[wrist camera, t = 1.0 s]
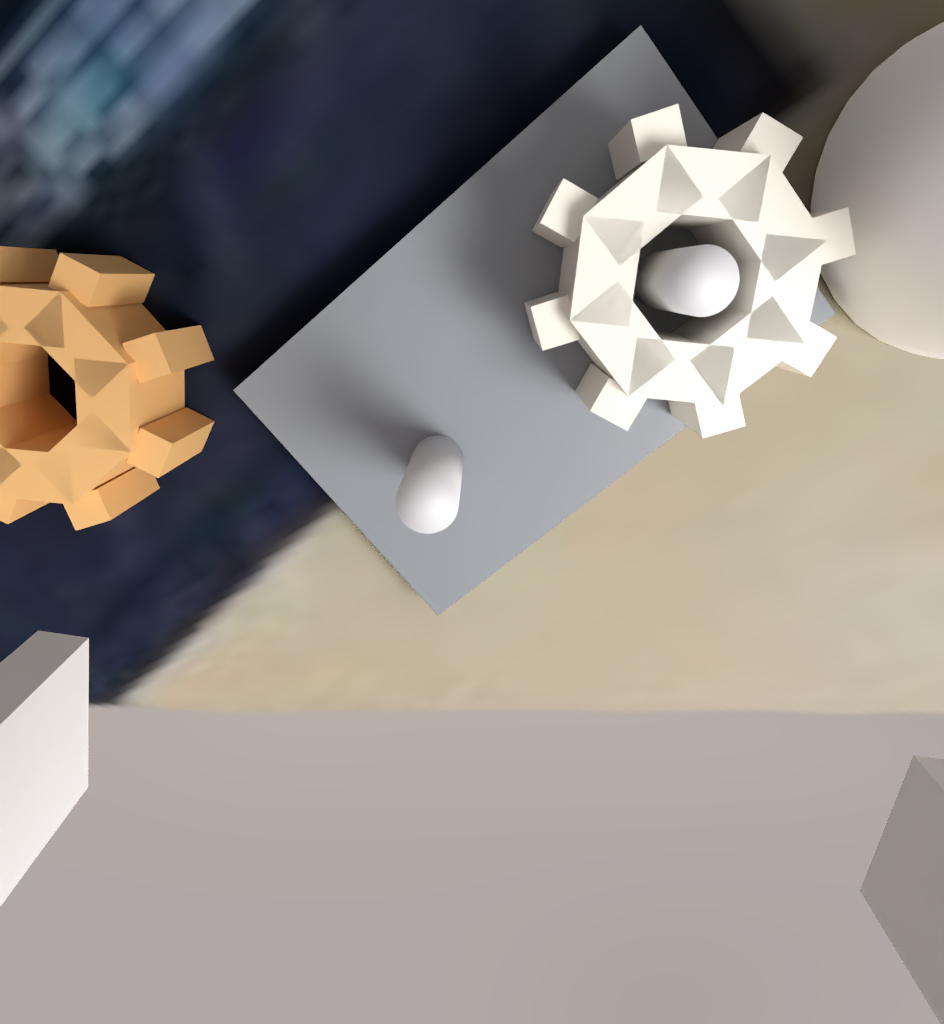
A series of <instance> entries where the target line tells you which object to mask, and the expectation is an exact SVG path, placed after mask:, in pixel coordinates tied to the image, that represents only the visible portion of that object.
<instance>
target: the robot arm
mask: <svg viewBox="0 0 944 1024" xmlns="http://www.w3.org/2000/svg"><path fill="white" fill-rule="evenodd" d="M88 708H89V638H86V637H79V636H72V635H65V634H58V633H51V632H44V631H37V632H36V633H35V634H34V635H33V636H31V637H30V638H29V639H28V640H27V641H26V642H24V643H23V644H22V645H21V646H20V647H19V648H17V649H16V650H15V651H14V652H13V653H12V654H10V655H9V656H8V657H7V658H6V659H4V660H3V661H2V662H1V663H0V906H1V905H2V904H3V902H4V901H5V899H6V898H7V897H8V895H9V894H10V893H11V891H12V890H13V888H14V887H15V886H16V884H17V883H18V882H19V880H20V879H21V878H22V876H23V875H24V874H25V872H26V871H27V869H28V868H29V867H30V865H31V864H32V863H33V861H34V860H35V859H36V857H37V856H38V854H39V853H40V852H41V850H42V849H43V848H44V846H45V845H46V844H47V842H48V841H49V840H50V838H51V837H52V835H53V834H54V833H55V831H56V830H57V829H58V827H59V826H60V825H61V823H62V822H63V820H64V819H65V817H66V816H67V815H68V813H69V812H70V811H71V809H72V808H73V807H74V806H75V804H76V803H77V801H78V800H79V799H80V797H81V796H82V795H83V793H84V792H85V791H86V789H87V788H88ZM860 891H861V893H862V895H863V896H864V898H865V899H866V901H867V903H868V904H869V906H870V907H871V909H872V911H873V913H874V914H875V916H876V918H877V919H878V921H879V923H880V924H881V926H882V928H883V929H884V930H885V933H886V934H887V936H888V937H889V939H890V941H891V942H892V944H893V946H894V947H895V949H896V951H897V952H898V954H899V956H900V957H901V959H902V960H903V962H904V964H905V966H906V967H907V969H908V970H909V972H910V974H911V975H912V977H913V979H914V980H915V982H916V984H917V985H918V987H919V989H920V990H921V992H922V994H923V995H924V997H925V999H926V1000H927V1002H928V1004H929V1005H930V1007H931V1008H932V1010H933V1012H934V1014H935V1015H936V1017H937V1018H938V1020H939V1022H940V1023H941V1024H944V760H942V759H935V758H929V757H921V756H913V758H912V760H911V763H910V765H909V768H908V771H907V773H906V776H905V778H904V781H903V784H902V786H901V788H900V791H899V793H898V796H897V798H896V801H895V804H894V806H893V809H892V811H891V814H890V816H889V819H888V821H887V824H886V826H885V829H884V831H883V834H882V837H881V839H880V842H879V844H878V847H877V849H876V852H875V854H874V857H873V859H872V862H871V865H870V867H869V869H868V872H867V875H866V877H865V880H864V882H863V885H862V887H861V890H860Z"/></svg>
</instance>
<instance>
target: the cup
mask: <svg viewBox="0 0 944 1024" xmlns="http://www.w3.org/2000/svg"><path fill="white" fill-rule="evenodd" d="M845 207H849V213H850V220H851V226H852V232H853V239H854V245H855V251H856V254H855V255H852V256H849V257H846V258H842V259H839V260H836V261H833V262H830V263H826V264H823V265H822V266H821V271H820V273H821V275H822V277H823V279H824V281H825V282H826V284H827V286H828V288H829V290H830V292H831V294H832V296H833V298H834V300H835V301H836V302H837V304H838V305H839V306H840V307H841V308H842V309H843V310H844V312H845V313H846V314H847V315H848V316H849V317H850V318H851V320H852V321H853V322H854V323H855V324H856V325H858V326H859V327H861V328H862V329H863V330H865V331H866V332H868V333H869V334H871V335H872V336H873V337H875V338H876V339H878V340H879V341H881V342H884V343H886V344H889V345H891V346H894V347H896V348H899V349H901V350H904V351H907V352H910V353H913V354H917V355H922V356H928V357H933V358H939V359H944V22H942V23H940V24H939V25H937V26H935V27H933V28H931V29H930V30H928V31H926V32H924V33H922V34H921V35H919V36H917V37H915V38H914V39H912V40H911V41H909V42H908V43H906V44H904V45H903V46H902V47H901V48H899V49H898V50H897V51H896V52H895V53H893V54H892V55H891V56H890V57H889V58H887V59H886V60H885V61H884V62H883V63H881V64H880V65H879V66H878V67H877V68H875V69H874V70H873V71H872V72H871V74H870V75H869V76H868V77H867V78H866V80H865V81H864V82H863V83H862V84H861V86H860V87H859V88H858V89H857V90H856V92H855V93H854V94H853V95H852V96H851V98H850V99H849V100H848V101H847V103H846V105H845V107H844V108H843V110H842V112H841V114H840V115H839V117H838V119H837V121H836V123H835V124H834V126H833V128H832V130H831V131H830V133H829V135H828V138H827V141H826V143H825V146H824V149H823V152H822V155H821V158H820V161H819V163H818V166H817V169H816V174H815V180H814V187H813V193H812V200H811V214H814V213H819V212H824V211H830V210H835V209H840V208H845Z"/></svg>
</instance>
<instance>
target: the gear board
mask: <svg viewBox="0 0 944 1024" xmlns="http://www.w3.org/2000/svg"><path fill="white" fill-rule="evenodd" d="M675 104H679V109H680V114H681V119H682V124H683V128H684V133H685V138H686V143H687V147H696V148H706V149H713V148H714V146H715V144H716V142H717V141H718V138H717V137H716V136H715V134H714V133H713V131H712V130H711V128H710V127H709V125H708V124H707V122H706V121H705V119H704V118H703V116H702V115H701V113H700V112H699V110H698V109H697V107H696V106H695V104H694V103H693V101H692V100H691V98H690V97H689V96H688V94H687V93H686V91H685V90H684V88H683V87H682V85H681V84H680V82H679V81H678V79H677V78H676V76H675V75H674V73H673V72H672V70H671V69H670V67H669V66H668V64H667V63H666V61H665V60H664V58H663V57H662V56H661V54H660V53H659V51H658V50H657V48H656V47H655V45H654V44H653V42H652V41H651V39H650V38H649V36H648V35H647V33H646V32H645V30H644V29H643V27H642V26H641V25H640V26H639V27H638V28H637V29H636V30H635V31H634V32H632V33H631V34H630V35H629V36H628V37H627V38H626V39H625V40H623V41H622V42H621V43H620V44H619V45H618V46H617V47H616V48H615V49H613V50H612V51H611V52H610V53H609V54H608V55H607V56H606V57H605V58H603V59H602V60H601V61H600V62H599V63H598V64H597V65H596V66H594V67H593V68H592V69H591V70H590V71H589V72H588V73H587V74H586V75H584V76H583V77H582V78H581V79H580V80H579V81H578V82H577V83H576V84H574V85H573V86H572V87H571V88H570V89H569V90H568V91H567V92H565V93H564V94H563V95H562V96H561V97H560V98H559V99H558V100H557V101H555V102H554V103H553V104H552V105H551V106H550V107H549V108H548V109H547V110H545V111H544V112H543V113H542V114H541V115H540V116H539V117H538V118H536V119H535V120H534V121H533V122H532V123H531V124H530V125H529V126H528V127H526V128H525V129H524V130H523V131H522V132H521V133H520V134H519V135H518V136H516V137H515V138H514V139H513V140H512V141H511V142H510V143H509V144H507V145H506V146H505V147H504V148H503V149H502V150H501V151H500V152H499V153H497V154H496V155H495V156H494V157H493V158H492V159H491V160H490V161H489V162H487V163H486V164H485V165H484V166H483V167H482V168H481V169H480V170H478V171H477V172H476V173H475V174H474V175H473V176H472V177H471V178H470V179H468V180H467V181H466V182H465V183H464V184H463V185H462V186H461V187H460V188H458V189H457V190H456V191H455V192H454V193H453V194H452V195H451V196H450V197H448V198H447V199H446V200H445V201H444V202H443V203H442V204H441V205H439V206H438V207H437V208H436V209H435V210H434V211H433V212H432V213H431V214H429V215H428V216H427V217H426V218H425V219H424V220H423V221H422V222H421V223H419V224H418V225H417V226H416V227H415V228H414V229H413V230H412V231H410V232H409V233H408V234H407V235H406V236H405V237H404V238H403V239H402V240H400V241H399V242H398V243H397V244H396V245H395V246H394V247H393V248H392V249H390V250H389V251H388V252H387V253H386V254H385V255H384V256H383V257H381V258H380V259H379V260H378V261H377V262H376V263H375V264H374V265H373V266H371V267H370V268H369V269H368V270H367V271H366V272H365V273H364V274H363V275H361V276H360V277H359V278H358V279H357V280H356V281H355V282H354V283H352V284H351V285H350V286H349V287H348V288H347V289H346V290H345V291H344V292H342V293H341V294H340V295H339V296H338V297H337V298H336V299H335V300H334V301H332V302H331V303H330V304H329V305H328V306H327V307H326V308H325V309H323V310H322V311H321V312H320V313H319V314H318V315H317V316H316V317H315V318H313V319H312V320H311V321H310V322H309V323H308V324H307V325H306V326H305V327H303V328H302V329H301V330H300V331H299V332H298V333H297V334H296V335H294V336H293V337H292V338H291V339H290V340H289V341H288V342H287V343H286V344H284V345H283V346H282V347H281V348H280V349H279V350H278V351H277V352H276V353H274V354H273V355H272V356H271V357H270V358H269V359H268V360H267V361H265V362H264V363H263V364H262V365H261V366H260V367H259V368H258V369H257V370H255V371H254V372H253V373H252V374H251V375H250V376H249V377H248V378H247V379H245V380H244V381H243V382H242V383H241V384H240V385H239V386H238V387H236V388H235V389H234V390H233V391H234V392H235V393H236V394H237V395H238V396H239V397H240V398H241V399H242V400H243V402H244V403H245V404H246V405H247V406H248V407H249V408H250V409H251V410H252V411H253V413H254V414H255V415H256V416H257V417H258V418H259V419H260V420H261V421H262V422H263V424H264V425H265V426H266V427H267V428H268V429H269V430H270V431H271V432H272V433H273V435H274V436H275V437H276V438H277V439H278V440H279V441H280V442H281V443H282V444H283V446H284V447H285V448H286V449H287V450H288V451H289V452H290V453H291V454H292V455H293V457H294V458H295V459H296V460H297V461H298V462H299V463H300V464H301V465H302V467H303V468H304V469H305V470H306V471H307V472H308V473H309V474H310V475H311V476H312V478H313V479H314V480H315V481H316V482H317V483H318V484H319V485H320V486H321V487H322V489H323V490H324V491H325V492H326V493H327V494H328V495H329V496H330V497H331V498H332V500H333V501H334V502H335V503H336V504H337V505H338V506H339V507H340V508H341V509H342V511H343V512H344V513H345V514H346V515H347V516H348V517H349V518H350V519H351V520H352V522H353V523H354V524H355V525H356V526H357V527H358V528H359V529H360V530H361V532H362V533H363V534H364V535H365V536H366V537H367V538H368V539H369V540H370V541H371V543H372V544H373V545H374V546H375V547H376V548H377V549H378V550H379V551H380V552H381V554H382V555H383V556H384V557H385V558H386V559H387V560H388V561H389V562H390V563H391V565H392V566H393V567H394V568H395V569H396V570H397V571H398V572H399V573H400V574H401V576H402V577H403V578H404V579H405V580H406V581H407V582H408V583H409V584H410V585H411V587H412V588H413V589H414V590H415V591H416V592H417V593H418V594H419V595H420V597H421V598H422V599H423V600H424V601H425V602H426V603H427V604H428V605H429V606H430V608H431V609H432V610H433V611H434V612H435V613H436V614H437V615H439V614H441V613H442V612H443V611H445V610H446V609H447V608H449V607H450V606H451V605H452V604H454V603H455V602H456V601H458V600H459V599H460V598H462V597H463V596H464V595H466V594H467V593H468V592H470V591H471V590H472V589H474V588H475V587H476V586H477V585H479V584H480V583H481V582H483V581H484V580H485V579H487V578H488V577H489V576H491V575H492V574H493V573H495V572H496V571H497V570H498V569H500V568H501V567H502V566H504V565H505V564H506V563H508V562H509V561H510V560H512V559H513V558H514V557H516V556H517V555H518V554H520V553H521V552H522V551H523V550H525V549H526V548H527V547H529V546H530V545H531V544H533V543H534V542H535V541H537V540H538V539H539V538H541V537H542V536H543V535H544V534H546V533H547V532H548V531H550V530H551V529H552V528H554V527H555V526H556V525H558V524H559V523H560V522H562V521H563V520H564V519H566V518H567V517H568V516H569V515H571V514H572V513H573V512H575V511H576V510H577V509H579V508H580V507H581V506H583V505H584V504H585V503H587V502H588V501H589V500H590V499H592V498H593V497H594V496H596V495H597V494H598V493H600V492H601V491H602V490H604V489H605V488H606V487H608V486H609V485H610V484H611V483H613V482H614V481H615V480H617V479H618V478H619V477H621V476H622V475H623V474H625V473H626V472H627V471H629V470H630V469H631V468H633V467H634V466H635V465H636V464H638V463H639V462H640V461H642V460H643V459H644V458H646V457H647V456H648V455H650V454H651V453H652V452H654V451H655V450H656V449H657V448H659V447H660V446H661V445H663V444H664V443H665V442H667V441H668V440H669V439H671V438H672V437H673V436H675V435H676V434H677V433H679V432H680V431H681V430H682V429H684V428H685V427H686V426H685V425H684V424H683V423H681V422H680V421H679V420H677V419H676V418H675V417H673V416H672V415H671V411H670V407H669V402H668V400H661V399H651V398H647V399H646V401H645V403H644V404H643V406H642V408H641V409H640V411H639V413H638V414H637V416H636V418H635V419H634V421H633V423H632V424H631V426H630V428H629V429H628V431H626V430H624V429H623V428H621V427H619V426H617V425H615V424H613V423H611V422H610V421H608V420H606V419H604V418H602V417H600V416H599V415H597V414H595V413H593V412H591V411H590V410H589V409H588V408H587V406H586V405H585V404H584V403H583V401H582V400H581V399H580V397H579V396H578V395H577V394H576V392H575V390H576V389H577V387H578V385H579V383H580V382H581V380H582V378H583V376H584V374H585V373H586V371H587V369H588V367H589V366H590V364H591V363H592V364H594V365H595V363H594V362H593V361H592V360H591V358H590V357H589V356H588V354H587V353H586V352H585V350H584V349H583V348H582V347H581V345H580V344H579V343H578V341H577V340H576V341H573V342H570V343H567V344H563V345H560V346H557V347H554V348H550V349H547V350H544V351H543V350H542V349H541V348H540V347H539V345H538V344H537V343H536V342H535V340H534V337H533V334H532V330H531V326H530V323H529V319H528V316H527V312H526V308H525V305H524V302H526V301H530V300H533V299H536V298H539V297H542V296H545V295H549V294H552V293H555V292H557V293H558V289H559V281H560V273H561V264H562V256H563V248H564V247H559V246H557V245H556V244H554V243H552V242H550V241H549V240H547V239H545V238H543V237H541V236H540V235H538V234H536V233H534V232H533V231H532V229H533V227H534V226H535V224H536V222H537V220H538V218H539V216H540V214H541V212H542V210H543V208H544V206H545V204H546V202H547V201H548V199H549V197H550V195H551V193H552V192H553V191H554V189H555V188H556V187H557V186H558V184H559V183H560V182H561V180H562V179H563V178H564V179H566V180H568V181H569V182H571V183H573V184H574V185H576V186H578V187H580V188H581V189H583V190H585V191H586V192H588V193H590V194H592V195H593V196H595V197H597V198H598V199H599V198H600V197H601V196H602V195H604V194H605V193H606V192H607V191H608V190H609V189H611V188H612V187H613V186H614V185H615V184H616V183H618V182H619V181H620V180H621V179H619V180H616V177H615V173H614V169H613V164H612V160H611V156H610V152H609V147H608V143H609V142H610V141H611V140H612V139H613V138H614V137H615V136H616V135H617V134H618V133H619V132H620V131H621V129H622V128H623V127H624V126H625V125H626V124H627V123H628V122H629V121H630V120H631V119H634V118H637V117H640V116H643V115H646V114H649V113H652V112H655V111H658V110H661V109H664V108H667V107H670V106H673V105H675ZM739 281H740V274H739V269H738V265H737V263H736V261H735V259H734V258H733V256H732V255H731V254H730V253H729V252H728V251H726V250H725V249H723V248H721V247H719V246H716V245H709V244H706V245H700V244H699V242H698V241H697V239H696V238H695V237H694V235H693V234H692V232H691V231H690V229H680V228H670V227H666V228H665V229H664V230H663V231H661V232H660V233H659V234H658V235H656V236H655V237H654V238H653V239H652V240H650V241H649V242H648V243H647V244H646V245H644V246H643V247H642V248H641V249H640V255H639V262H638V268H637V275H636V282H635V288H634V295H633V302H634V303H635V305H636V306H637V307H638V309H639V310H640V312H641V313H642V314H643V316H644V317H645V318H646V320H647V321H648V322H649V324H650V325H651V326H652V328H653V329H654V330H655V332H665V333H673V332H674V331H676V330H677V329H678V328H680V327H681V326H682V325H683V324H685V323H686V322H687V321H688V320H690V319H691V318H692V317H693V316H696V317H708V316H712V315H714V314H717V313H719V312H721V311H722V310H723V309H725V308H726V307H727V306H728V305H729V304H730V303H731V301H732V300H733V299H734V297H735V295H736V293H737V290H738V287H739ZM834 314H835V312H834V310H833V309H832V307H831V306H830V304H829V303H828V301H827V300H826V298H825V297H824V295H823V294H822V293H821V291H820V290H819V288H818V287H817V290H816V294H815V299H814V304H813V308H812V313H811V317H810V322H812V323H814V324H815V325H817V326H819V325H820V324H822V323H823V322H824V321H826V320H827V319H828V318H830V317H831V316H832V315H834Z"/></svg>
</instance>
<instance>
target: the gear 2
mask: <svg viewBox="0 0 944 1024" xmlns="http://www.w3.org/2000/svg"><path fill="white" fill-rule="evenodd" d="M802 138H803V137H802V136H801V135H799V134H798V133H796V132H794V131H793V130H791V129H789V128H788V127H786V126H785V125H783V124H781V123H780V122H778V121H776V120H775V119H773V118H772V117H770V116H768V115H767V114H765V113H763V112H762V113H761V114H759V115H757V116H756V117H754V118H752V119H751V120H749V121H747V122H746V123H744V124H742V125H740V126H739V127H737V128H735V129H734V130H732V131H730V132H729V133H727V134H725V135H724V136H722V137H720V138H719V139H718V141H717V142H716V144H715V146H714V148H713V149H706V148H696V147H687V143H686V138H685V133H684V128H683V124H682V119H681V114H680V109H679V104H675V105H673V106H670V107H667V108H664V109H661V110H658V111H655V112H652V113H649V114H646V115H643V116H640V117H637V118H634V119H631V120H630V121H629V122H628V123H627V124H626V125H625V126H624V127H623V128H622V129H621V131H620V132H619V133H618V134H617V135H616V136H615V137H614V138H613V139H612V140H611V141H610V142H609V143H608V147H609V152H610V156H611V160H612V164H613V169H614V173H615V177H616V180H619V179H621V180H620V181H619V182H618V183H616V184H615V185H614V186H613V187H612V188H611V189H609V190H608V191H607V192H606V193H605V194H604V195H602V196H601V197H600V198H599V199H598V198H597V197H595V196H593V195H592V194H590V193H588V192H586V191H585V190H583V189H581V188H580V187H578V186H576V185H574V184H573V183H571V182H569V181H568V180H566V179H564V178H563V179H562V180H561V182H560V183H559V184H558V186H557V187H556V188H555V189H554V191H553V192H552V193H551V195H550V197H549V199H548V201H547V202H546V204H545V206H544V208H543V210H542V212H541V214H540V216H539V218H538V220H537V222H536V224H535V226H534V227H533V229H532V231H533V232H534V233H536V234H538V235H540V236H541V237H543V238H545V239H547V240H549V241H550V242H552V243H554V244H556V245H557V246H559V247H564V248H563V256H562V264H561V273H560V281H559V289H558V293H557V292H555V293H552V294H549V295H545V296H542V297H539V298H536V299H533V300H530V301H526V302H524V305H525V308H526V312H527V316H528V319H529V323H530V326H531V330H532V334H533V337H534V340H535V342H536V343H537V344H538V345H539V347H540V348H541V349H542V350H543V351H544V350H547V349H550V348H554V347H557V346H560V345H563V344H567V343H570V342H573V341H576V340H577V341H578V343H579V344H580V345H581V347H582V348H583V349H584V350H585V352H586V353H587V354H588V356H589V357H590V358H591V360H592V361H593V362H594V363H595V365H594V364H592V363H591V364H590V366H589V367H588V369H587V371H586V373H585V374H584V376H583V378H582V380H581V382H580V383H579V385H578V387H577V389H576V390H575V392H576V394H577V395H578V396H579V397H580V399H581V400H582V401H583V403H584V404H585V405H586V406H587V408H588V409H589V410H590V411H591V412H593V413H595V414H597V415H599V416H600V417H602V418H604V419H606V420H608V421H610V422H611V423H613V424H615V425H617V426H619V427H621V428H623V429H624V430H626V431H628V429H629V428H630V426H631V424H632V423H633V421H634V419H635V418H636V416H637V414H638V413H639V411H640V409H641V408H642V406H643V404H644V403H645V401H646V399H647V398H651V399H661V400H668V402H669V407H670V411H671V415H672V416H673V417H675V418H676V419H677V420H679V421H680V422H681V423H683V424H684V425H685V426H687V427H688V428H689V429H691V430H692V431H693V432H695V433H696V434H697V435H699V436H700V437H701V438H706V437H709V436H713V435H716V434H720V433H723V432H727V431H730V430H734V429H737V428H740V427H744V426H745V421H744V416H743V411H742V407H741V402H740V397H739V393H740V392H742V391H743V390H744V389H746V388H747V387H748V386H750V385H751V384H752V383H754V382H755V381H756V380H758V379H759V378H760V377H761V376H763V375H764V374H765V373H767V372H768V371H769V370H771V369H772V368H773V367H775V366H776V367H780V368H783V369H786V370H789V371H793V372H796V373H799V374H802V375H806V376H809V377H811V376H812V375H813V373H814V372H815V370H816V369H817V367H818V366H819V364H820V363H821V361H822V360H823V358H824V356H825V355H826V353H827V352H828V350H829V349H830V347H831V346H832V344H833V343H834V341H835V340H836V338H837V337H836V336H834V335H833V334H831V333H829V332H827V331H826V330H824V329H822V328H821V327H819V326H817V325H815V324H814V323H812V322H810V317H811V313H812V308H813V304H814V299H815V294H816V290H817V285H818V280H819V276H820V271H821V266H822V265H823V264H826V263H830V262H833V261H836V260H839V259H842V258H846V257H849V256H852V255H855V254H856V251H855V245H854V239H853V232H852V226H851V220H850V213H849V207H845V208H840V209H835V210H830V211H824V212H819V213H814V214H809V212H808V211H807V209H806V208H805V206H804V205H803V203H802V202H801V200H800V199H799V197H798V196H797V194H796V193H795V191H794V189H793V188H792V186H791V185H790V183H789V182H788V180H787V179H786V177H785V176H784V174H783V173H782V172H783V170H784V169H785V167H786V165H787V164H788V162H789V160H790V159H791V157H792V155H793V153H794V152H795V150H796V148H797V147H798V145H799V143H800V142H801V140H802ZM666 227H670V228H680V229H690V231H691V232H692V234H693V235H694V237H695V238H696V239H697V241H698V242H699V244H700V245H706V244H709V245H716V246H719V247H721V248H723V249H725V250H726V251H728V252H729V253H730V254H731V255H732V256H733V258H734V259H735V261H736V263H737V265H738V269H739V274H740V281H739V287H738V290H737V293H736V295H735V297H734V299H733V300H732V301H731V303H730V304H729V305H728V306H727V307H726V308H725V309H723V310H722V311H721V312H719V313H717V314H714V315H712V316H708V317H696V316H693V317H692V318H691V319H690V320H688V321H687V322H686V323H685V324H683V325H682V326H681V327H680V328H678V329H677V330H676V331H674V332H673V333H665V332H655V330H654V329H653V328H652V326H651V325H650V324H649V322H648V321H647V320H646V318H645V317H644V316H643V314H642V313H641V312H640V310H639V309H638V307H637V306H636V305H635V303H634V302H633V295H634V288H635V282H636V275H637V268H638V262H639V255H640V249H641V248H642V247H643V246H644V245H646V244H647V243H648V242H649V241H650V240H652V239H653V238H654V237H655V236H656V235H658V234H659V233H660V232H661V231H663V230H664V229H665V228H666Z"/></svg>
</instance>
